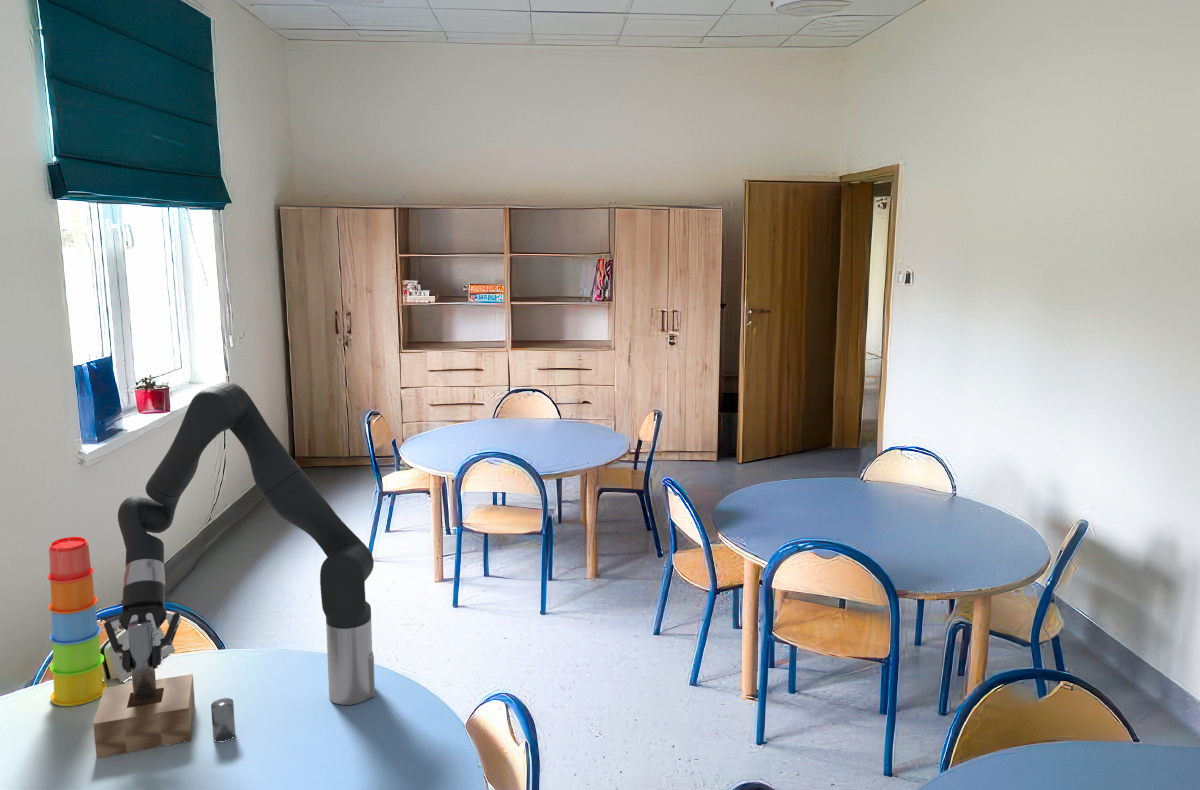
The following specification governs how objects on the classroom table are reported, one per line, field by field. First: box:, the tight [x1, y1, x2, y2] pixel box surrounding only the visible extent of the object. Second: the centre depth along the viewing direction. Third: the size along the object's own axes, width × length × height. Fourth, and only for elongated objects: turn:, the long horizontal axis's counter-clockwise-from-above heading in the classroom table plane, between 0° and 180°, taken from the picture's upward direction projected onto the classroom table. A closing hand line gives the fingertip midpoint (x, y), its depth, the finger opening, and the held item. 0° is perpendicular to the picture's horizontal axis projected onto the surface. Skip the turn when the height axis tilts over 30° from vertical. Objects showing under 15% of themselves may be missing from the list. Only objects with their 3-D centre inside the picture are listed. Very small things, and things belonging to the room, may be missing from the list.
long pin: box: [128, 619, 157, 700], centre depth 166 cm, size 4×4×15 cm
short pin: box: [210, 697, 236, 742], centre depth 167 cm, size 4×4×7 cm
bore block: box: [92, 673, 196, 759], centre depth 168 cm, size 16×14×7 cm
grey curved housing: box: [100, 626, 176, 683], centre depth 194 cm, size 17×5×10 cm, turn 166°
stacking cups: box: [47, 536, 108, 707], centre depth 178 cm, size 10×10×35 cm
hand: (141, 668), depth 165 cm, fingers closed on long pin, 4 cm apart
